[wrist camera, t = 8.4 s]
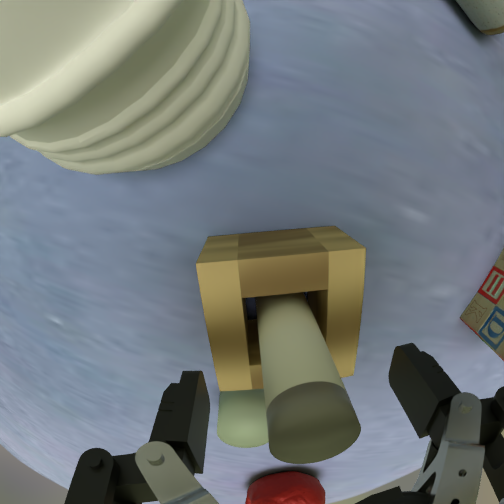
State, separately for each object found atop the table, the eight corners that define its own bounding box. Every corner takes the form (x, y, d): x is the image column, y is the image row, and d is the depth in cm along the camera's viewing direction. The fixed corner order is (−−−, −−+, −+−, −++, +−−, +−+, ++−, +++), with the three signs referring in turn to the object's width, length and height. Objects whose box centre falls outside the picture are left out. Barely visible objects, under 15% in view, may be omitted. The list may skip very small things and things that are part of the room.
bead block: (208, 236, 18) (195, 263, 13) (334, 225, 18) (365, 248, 13) (224, 343, 20) (219, 391, 15) (332, 332, 20) (353, 375, 15)
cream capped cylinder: (252, 271, 18) (267, 422, 7) (298, 266, 18) (368, 405, 7) (256, 311, 19) (271, 468, 8) (299, 307, 19) (352, 454, 8)
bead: (215, 381, 21) (212, 417, 17) (270, 377, 21) (275, 413, 17) (223, 414, 23) (221, 448, 19) (272, 411, 23) (276, 445, 19)
